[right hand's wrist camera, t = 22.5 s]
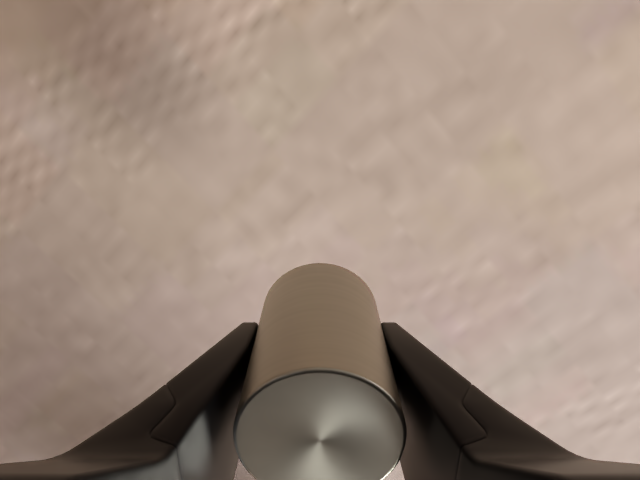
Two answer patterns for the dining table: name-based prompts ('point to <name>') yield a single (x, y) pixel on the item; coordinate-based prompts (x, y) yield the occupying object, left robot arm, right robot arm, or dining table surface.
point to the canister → (319, 384)
